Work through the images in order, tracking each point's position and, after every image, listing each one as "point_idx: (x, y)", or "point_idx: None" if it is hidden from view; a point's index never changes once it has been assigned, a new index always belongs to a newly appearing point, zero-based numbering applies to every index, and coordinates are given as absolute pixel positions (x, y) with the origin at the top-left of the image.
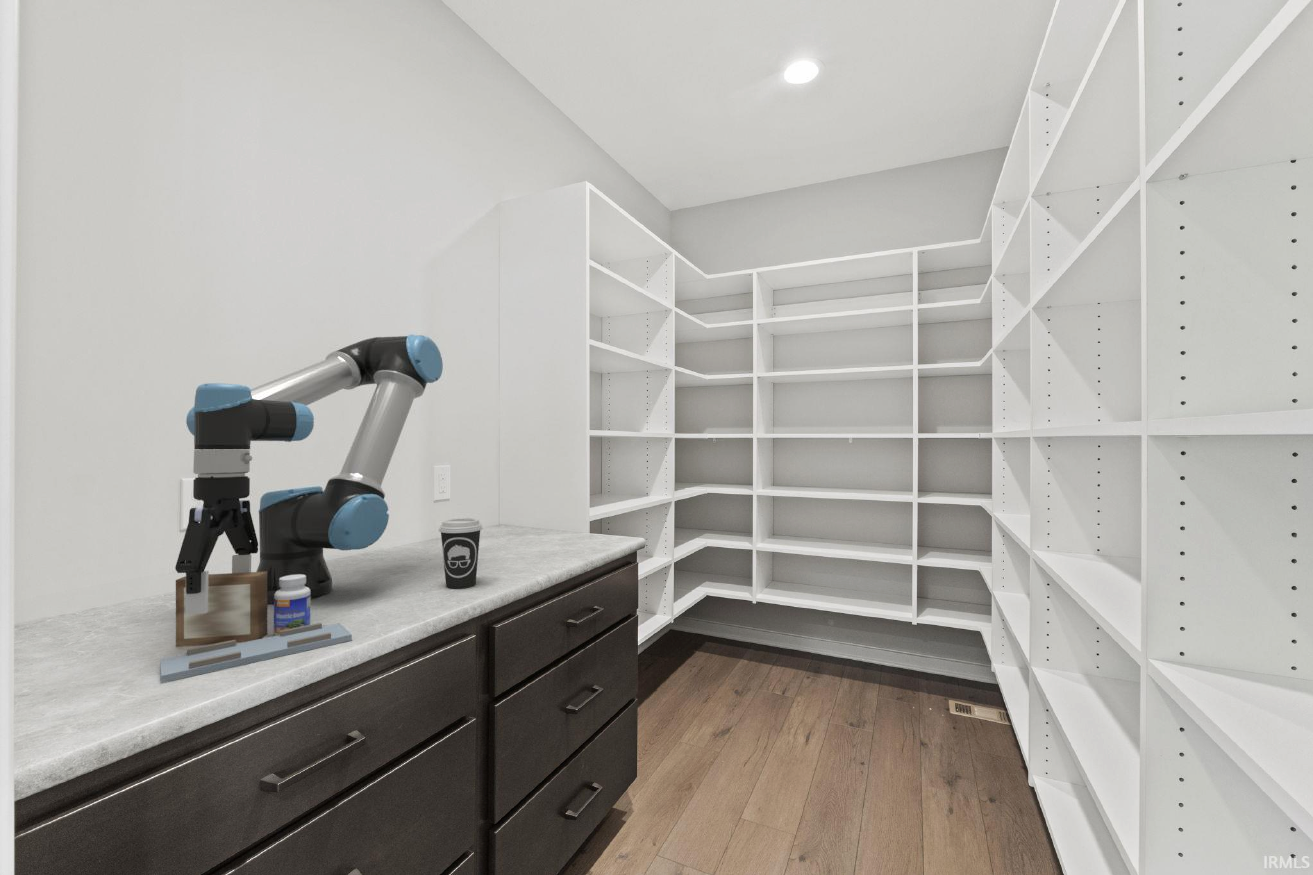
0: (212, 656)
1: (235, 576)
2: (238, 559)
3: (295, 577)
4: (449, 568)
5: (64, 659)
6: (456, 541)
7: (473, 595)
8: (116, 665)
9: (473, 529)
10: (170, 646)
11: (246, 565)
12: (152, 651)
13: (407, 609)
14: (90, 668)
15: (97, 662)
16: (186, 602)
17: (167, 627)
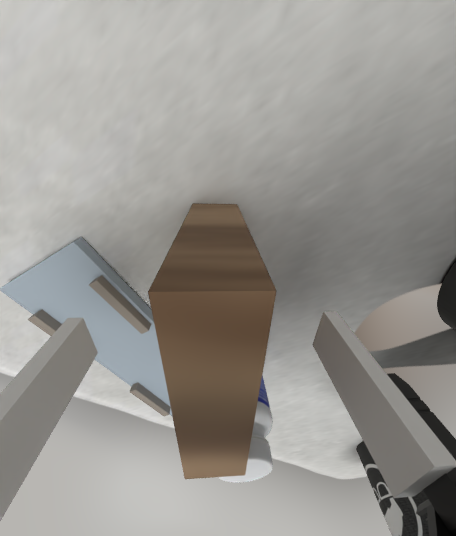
0: (94, 317)
1: (189, 447)
2: (399, 450)
3: (234, 476)
4: (383, 478)
5: None
6: None
7: (318, 456)
8: (77, 132)
9: None
10: (197, 189)
11: (362, 430)
12: (168, 164)
13: (290, 426)
14: (50, 65)
15: (93, 50)
16: (43, 349)
17: (382, 74)
